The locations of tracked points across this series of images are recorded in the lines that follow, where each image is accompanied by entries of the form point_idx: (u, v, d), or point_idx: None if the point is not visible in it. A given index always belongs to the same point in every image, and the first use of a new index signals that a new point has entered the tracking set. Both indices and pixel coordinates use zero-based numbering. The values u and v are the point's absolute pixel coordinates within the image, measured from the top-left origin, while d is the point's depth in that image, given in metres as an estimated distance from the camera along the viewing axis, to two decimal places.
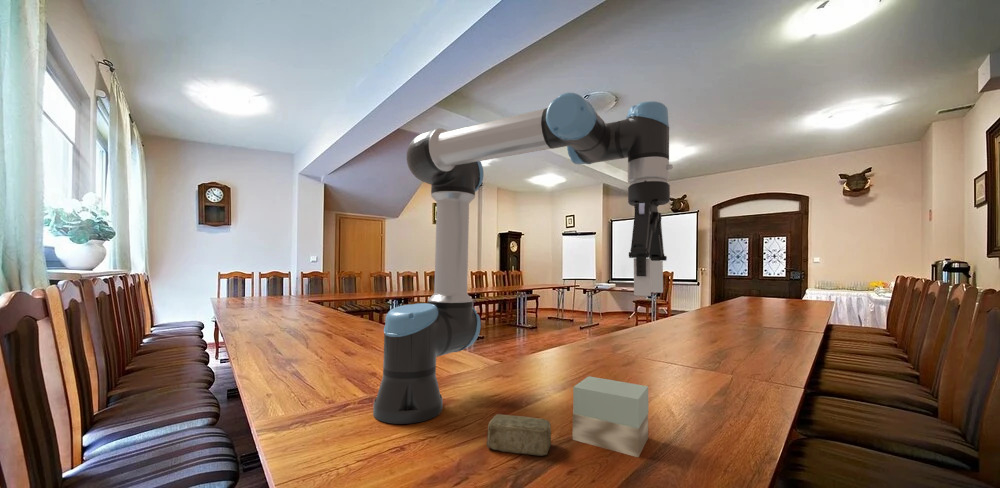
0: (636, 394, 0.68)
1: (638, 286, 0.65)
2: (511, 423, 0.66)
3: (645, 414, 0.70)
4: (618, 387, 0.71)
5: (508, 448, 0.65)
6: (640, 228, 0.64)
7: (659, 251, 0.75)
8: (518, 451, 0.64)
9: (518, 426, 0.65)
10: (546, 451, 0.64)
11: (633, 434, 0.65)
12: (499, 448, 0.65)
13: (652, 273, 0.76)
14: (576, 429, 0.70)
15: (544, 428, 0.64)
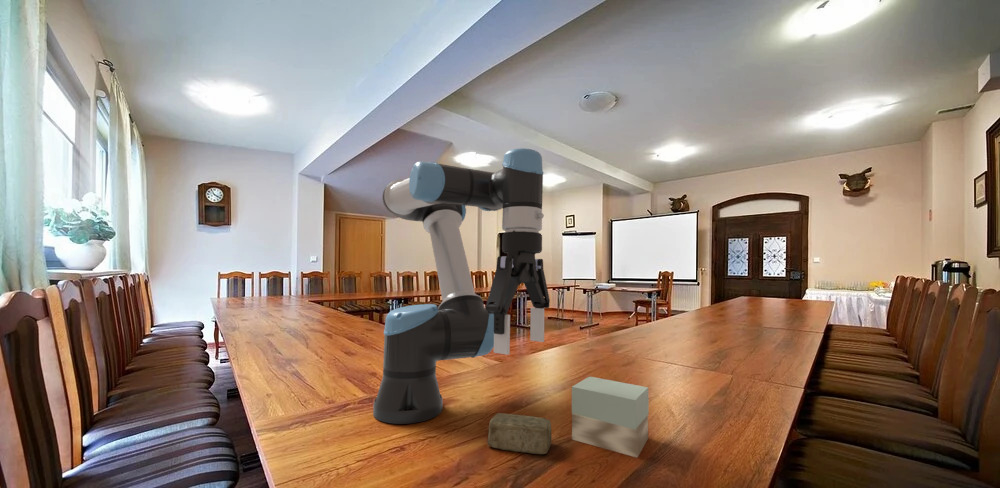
0: (634, 394, 0.67)
1: (497, 343, 0.62)
2: (511, 422, 0.66)
3: (644, 415, 0.69)
4: (617, 388, 0.71)
5: (508, 446, 0.65)
6: (498, 284, 0.62)
7: (539, 299, 0.73)
8: (518, 450, 0.65)
9: (518, 425, 0.65)
10: (546, 450, 0.64)
11: (632, 435, 0.65)
12: (500, 446, 0.66)
13: (534, 321, 0.74)
14: (575, 429, 0.70)
15: (544, 427, 0.65)
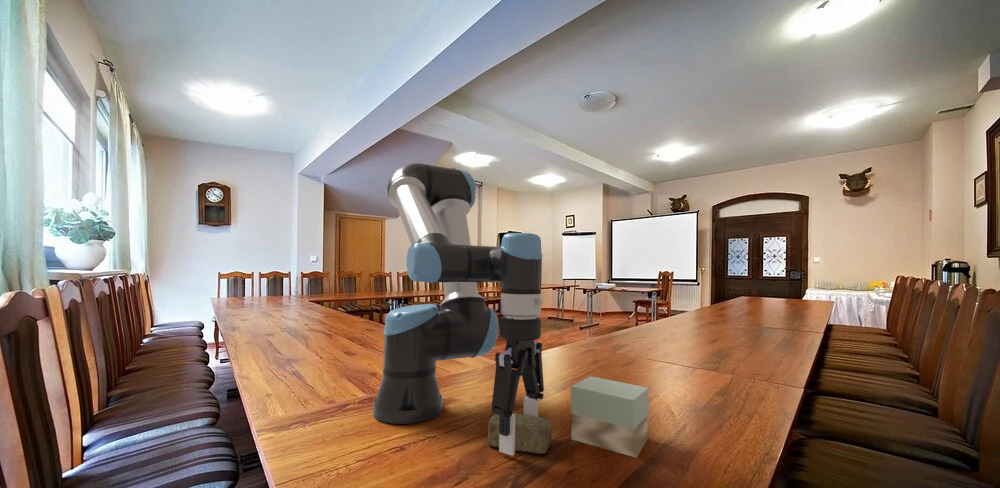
0: (633, 394, 0.67)
1: (503, 443, 0.63)
2: None
3: (644, 415, 0.69)
4: (617, 388, 0.71)
5: None
6: (500, 386, 0.62)
7: (534, 388, 0.70)
8: (517, 449, 0.65)
9: (517, 424, 0.66)
10: (545, 449, 0.64)
11: (631, 435, 0.65)
12: None
13: (527, 413, 0.71)
14: (575, 429, 0.70)
15: (543, 427, 0.65)
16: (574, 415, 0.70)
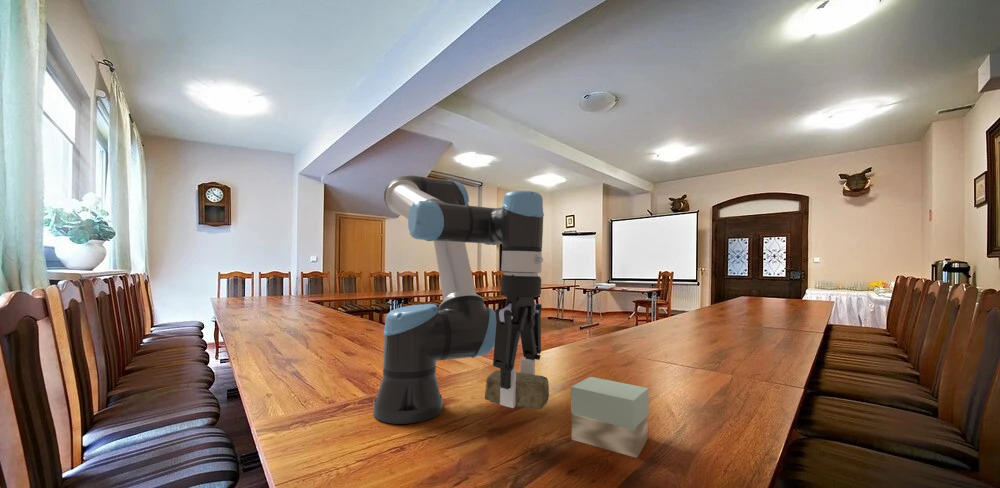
0: (633, 395, 0.67)
1: (503, 396, 0.65)
2: None
3: (644, 416, 0.69)
4: (617, 388, 0.71)
5: None
6: (501, 340, 0.63)
7: (531, 347, 0.71)
8: None
9: None
10: (541, 405, 0.64)
11: (632, 435, 0.64)
12: (496, 400, 0.66)
13: None
14: (575, 430, 0.70)
15: (540, 383, 0.65)
16: (574, 416, 0.70)
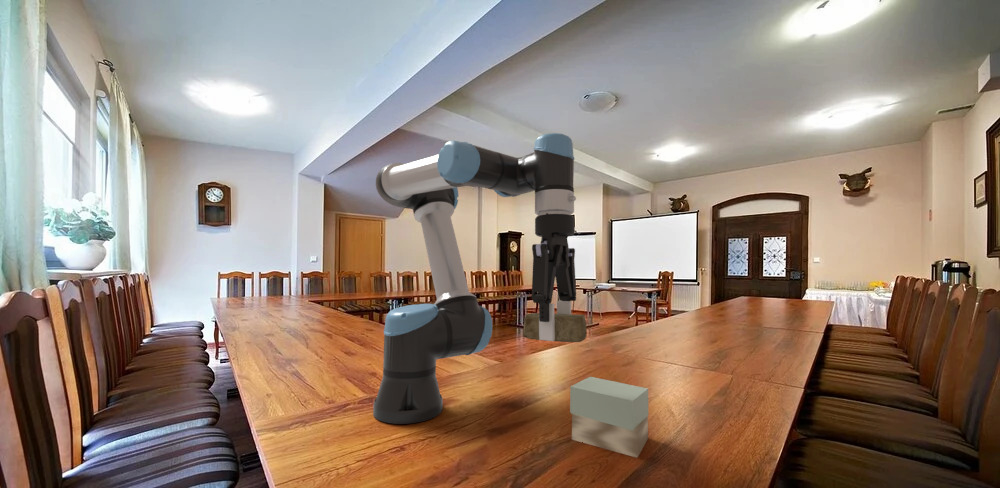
0: (633, 395, 0.67)
1: (542, 331, 0.66)
2: None
3: (643, 416, 0.69)
4: (616, 388, 0.71)
5: None
6: (538, 273, 0.65)
7: (567, 288, 0.72)
8: None
9: None
10: (580, 337, 0.65)
11: (632, 435, 0.65)
12: (535, 336, 0.67)
13: None
14: (575, 429, 0.70)
15: (578, 316, 0.66)
16: (575, 415, 0.70)
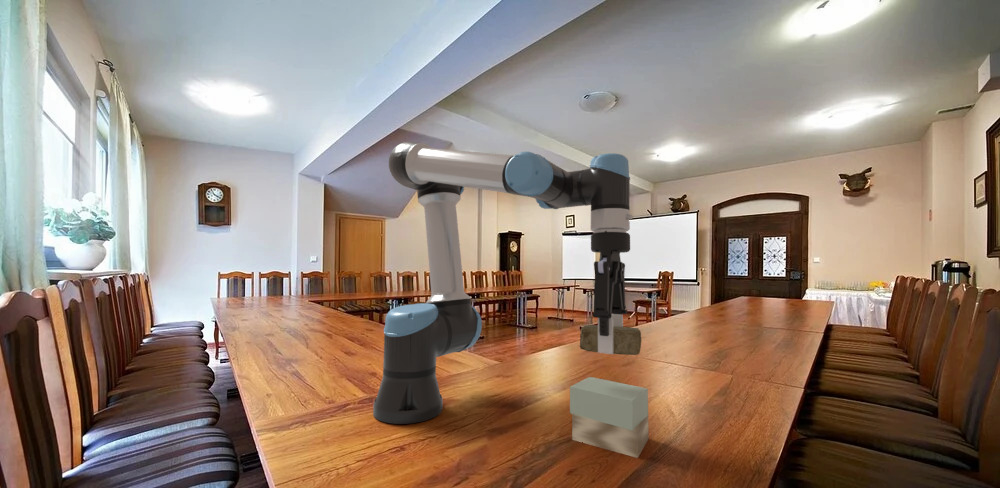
0: (632, 395, 0.67)
1: (601, 344, 0.69)
2: None
3: (643, 416, 0.69)
4: (616, 388, 0.71)
5: None
6: (600, 290, 0.67)
7: (619, 302, 0.75)
8: None
9: None
10: (638, 350, 0.68)
11: (633, 436, 0.64)
12: (593, 349, 0.70)
13: None
14: (576, 430, 0.70)
15: (636, 330, 0.69)
16: (575, 416, 0.70)
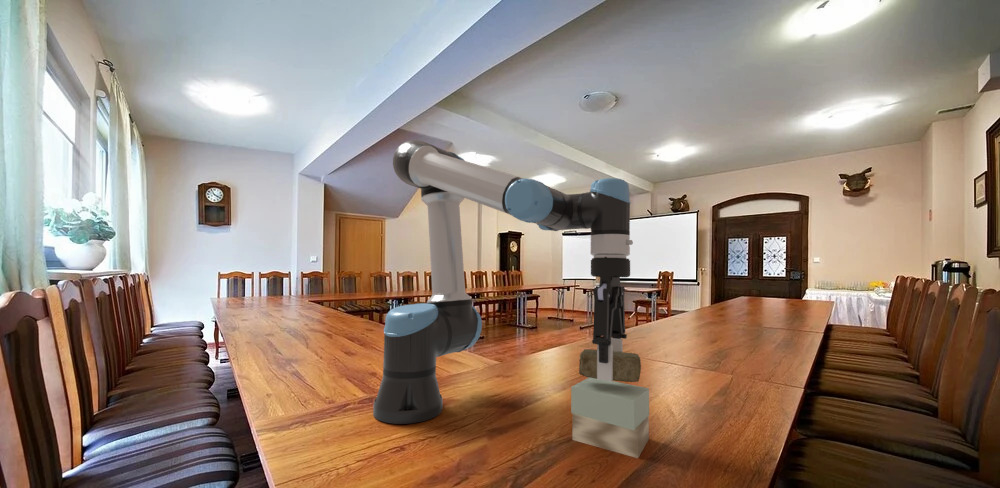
0: (634, 395, 0.67)
1: (601, 371, 0.69)
2: None
3: (644, 416, 0.69)
4: (617, 388, 0.71)
5: None
6: (600, 317, 0.67)
7: (619, 327, 0.75)
8: None
9: None
10: (638, 378, 0.68)
11: (633, 436, 0.64)
12: (592, 375, 0.70)
13: None
14: (576, 430, 0.70)
15: (636, 357, 0.69)
16: (575, 416, 0.70)
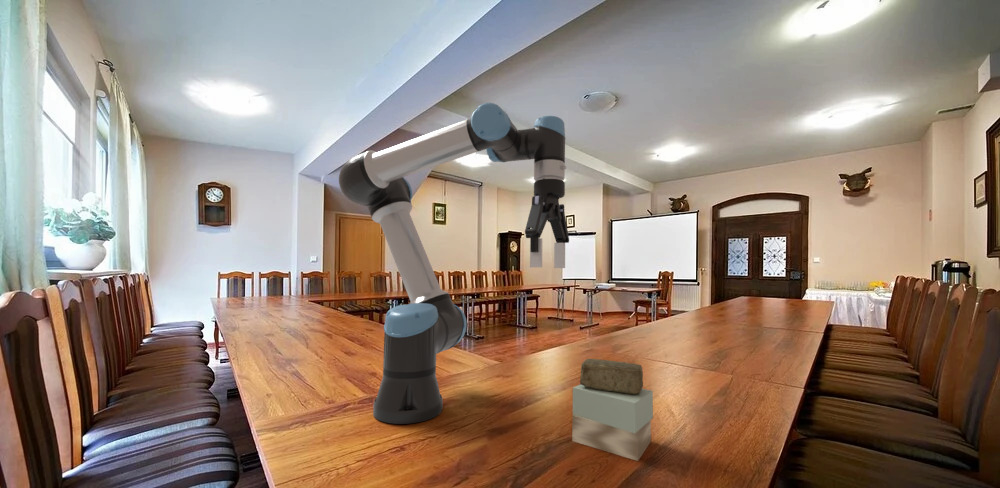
0: (636, 397, 0.66)
1: (533, 260, 0.83)
2: (603, 363, 0.70)
3: (647, 419, 0.67)
4: None
5: (601, 386, 0.69)
6: (533, 215, 0.83)
7: (561, 235, 0.94)
8: (610, 389, 0.68)
9: (610, 366, 0.69)
10: (639, 390, 0.67)
11: (633, 438, 0.63)
12: (592, 385, 0.70)
13: (557, 253, 0.95)
14: (576, 431, 0.69)
15: (636, 368, 0.67)
16: (575, 417, 0.70)
